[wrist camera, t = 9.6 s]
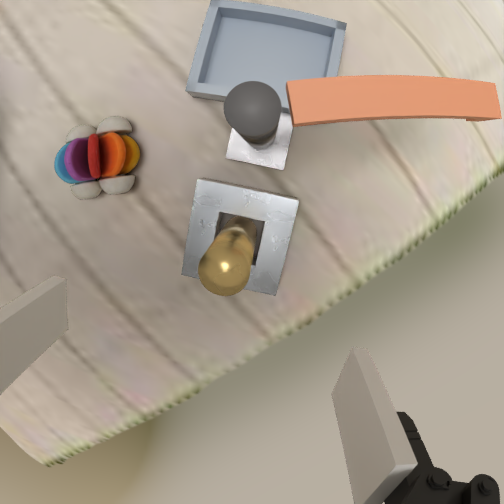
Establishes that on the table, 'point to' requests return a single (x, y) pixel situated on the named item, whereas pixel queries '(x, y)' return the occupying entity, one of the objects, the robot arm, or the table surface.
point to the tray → (262, 49)
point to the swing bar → (359, 101)
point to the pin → (229, 258)
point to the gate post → (263, 145)
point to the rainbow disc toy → (98, 158)
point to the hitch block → (246, 205)
